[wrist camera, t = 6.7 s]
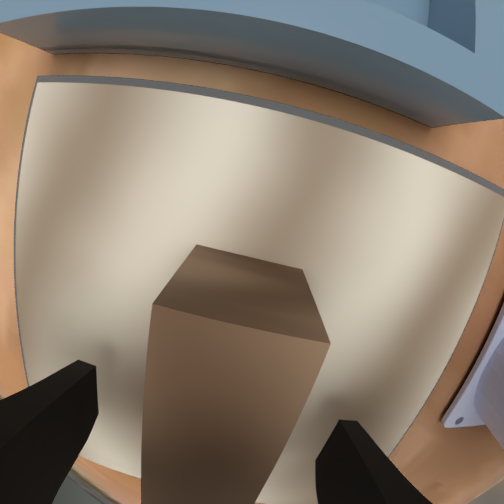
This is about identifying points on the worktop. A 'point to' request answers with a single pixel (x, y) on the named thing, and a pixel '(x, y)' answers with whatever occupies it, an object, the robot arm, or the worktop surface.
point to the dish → (302, 44)
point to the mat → (263, 104)
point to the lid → (237, 283)
